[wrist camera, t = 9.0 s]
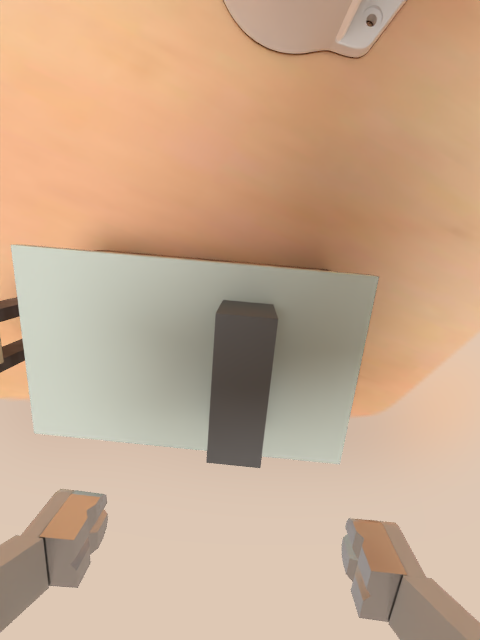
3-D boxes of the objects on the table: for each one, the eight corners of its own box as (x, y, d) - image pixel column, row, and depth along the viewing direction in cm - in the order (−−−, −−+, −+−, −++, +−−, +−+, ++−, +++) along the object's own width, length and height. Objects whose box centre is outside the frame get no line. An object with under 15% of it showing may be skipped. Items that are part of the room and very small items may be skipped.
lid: (366, 273, 21) (411, 284, 15) (332, 445, 25) (357, 509, 19) (34, 244, 21) (-51, 244, 15) (52, 417, 25) (-10, 470, 19)
